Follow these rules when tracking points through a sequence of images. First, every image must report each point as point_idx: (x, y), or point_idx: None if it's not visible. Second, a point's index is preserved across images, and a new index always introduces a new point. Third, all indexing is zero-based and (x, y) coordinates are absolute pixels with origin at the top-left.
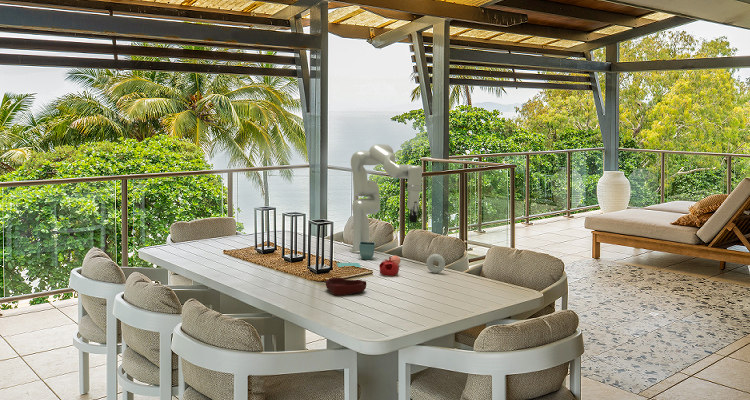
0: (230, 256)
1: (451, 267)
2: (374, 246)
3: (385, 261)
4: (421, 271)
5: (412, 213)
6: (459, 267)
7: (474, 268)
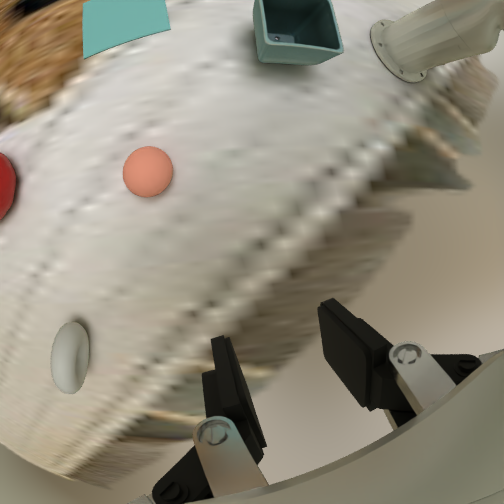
0: None
1: None
2: (265, 46)
3: None
4: (83, 293)
5: (200, 453)
6: None
7: None
